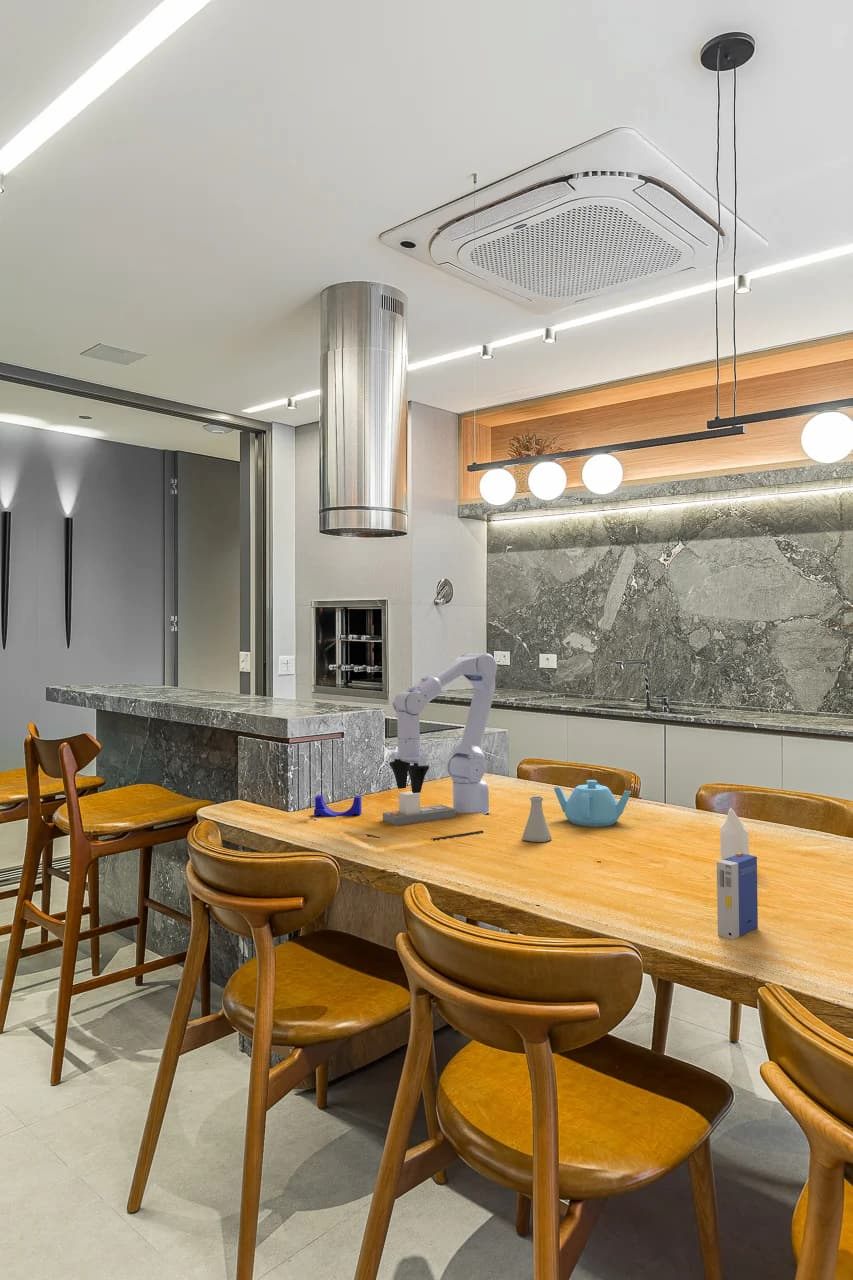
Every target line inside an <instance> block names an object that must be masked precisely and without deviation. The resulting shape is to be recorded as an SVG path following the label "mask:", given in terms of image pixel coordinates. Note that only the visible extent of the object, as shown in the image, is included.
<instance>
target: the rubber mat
mask: <svg viewBox="0 0 853 1280" xmlns="http://www.w3.org/2000/svg"><path fill="white" fill-rule="evenodd" d="M480 833H481V834H484V830H479V831H471V832H466V833H465V832H464V833H458V834H452V835H445V836H439V837H433V838H431V840H432V839H433V840H432V841H434V840H437V841H441V840H440V839H443V840H447V838H450V839H455V837H456V838H461V837H467V836H468V837H469V836H473V835H474V834H475V835H480Z"/></svg>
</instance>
